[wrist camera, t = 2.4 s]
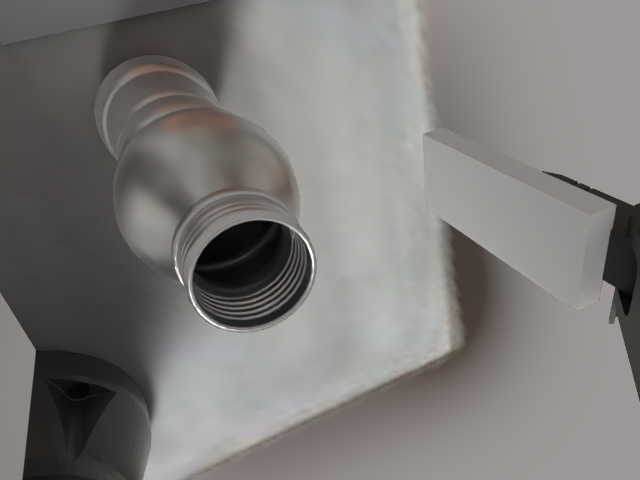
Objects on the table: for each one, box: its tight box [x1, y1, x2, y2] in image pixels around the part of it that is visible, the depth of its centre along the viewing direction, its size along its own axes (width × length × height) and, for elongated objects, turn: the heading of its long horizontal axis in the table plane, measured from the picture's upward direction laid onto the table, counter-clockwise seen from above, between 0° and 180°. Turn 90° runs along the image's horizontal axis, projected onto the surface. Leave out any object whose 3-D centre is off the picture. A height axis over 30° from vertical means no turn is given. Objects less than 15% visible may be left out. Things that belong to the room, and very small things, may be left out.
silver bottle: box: [95, 55, 316, 333], centre depth 22 cm, size 6×7×20 cm
